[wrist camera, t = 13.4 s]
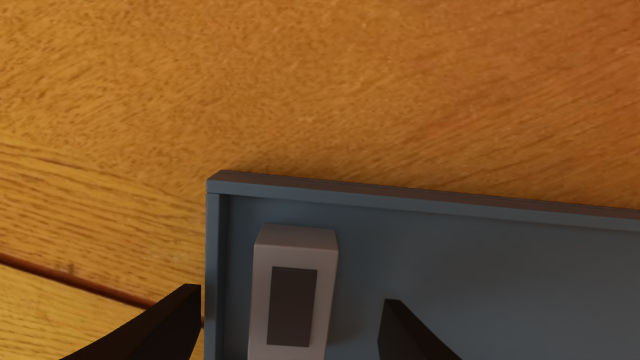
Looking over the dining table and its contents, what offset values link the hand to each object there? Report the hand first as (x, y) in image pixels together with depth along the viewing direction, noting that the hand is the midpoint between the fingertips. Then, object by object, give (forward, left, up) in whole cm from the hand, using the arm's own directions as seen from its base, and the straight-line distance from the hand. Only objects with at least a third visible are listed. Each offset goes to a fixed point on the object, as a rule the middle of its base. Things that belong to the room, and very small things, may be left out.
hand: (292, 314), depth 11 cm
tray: (0, -10, -2) cm, 10 cm away
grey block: (0, 0, -2) cm, 2 cm away
